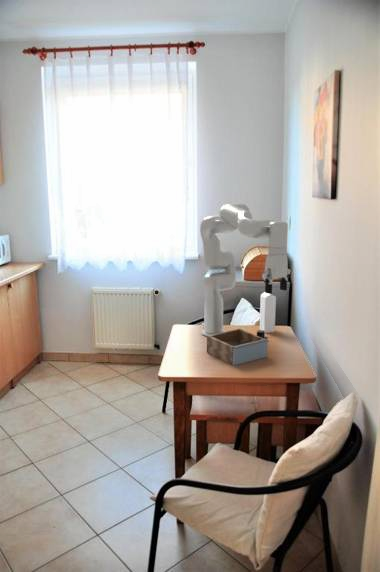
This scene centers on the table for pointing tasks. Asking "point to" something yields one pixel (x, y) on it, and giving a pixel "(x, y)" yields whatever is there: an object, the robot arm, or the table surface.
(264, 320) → the milk
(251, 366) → the table surface
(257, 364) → the table surface
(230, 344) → the crate
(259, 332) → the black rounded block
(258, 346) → the panel
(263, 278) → the robot arm
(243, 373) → the table surface
